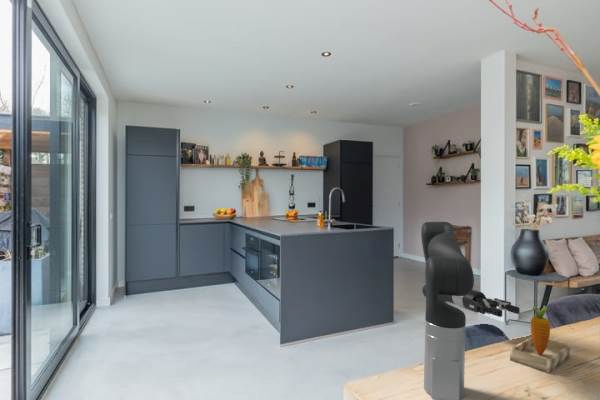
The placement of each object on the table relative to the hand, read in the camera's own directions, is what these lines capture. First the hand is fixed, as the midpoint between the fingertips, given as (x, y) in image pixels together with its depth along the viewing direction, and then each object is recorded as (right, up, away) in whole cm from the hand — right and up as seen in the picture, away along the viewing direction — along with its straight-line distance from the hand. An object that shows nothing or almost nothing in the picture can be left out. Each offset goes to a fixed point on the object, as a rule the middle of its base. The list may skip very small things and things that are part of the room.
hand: (510, 312), depth 115 cm
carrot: (+4, -10, -9) cm, 14 cm away
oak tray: (+4, -11, -9) cm, 15 cm away
